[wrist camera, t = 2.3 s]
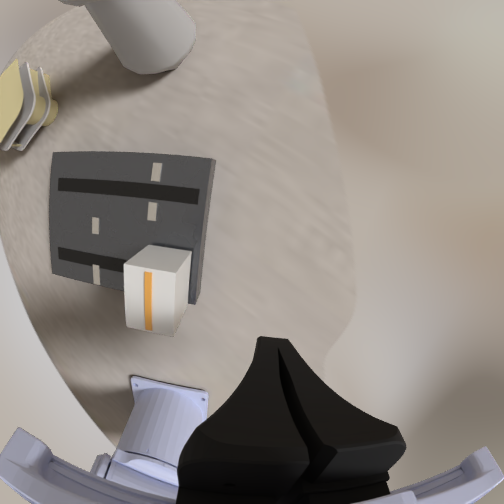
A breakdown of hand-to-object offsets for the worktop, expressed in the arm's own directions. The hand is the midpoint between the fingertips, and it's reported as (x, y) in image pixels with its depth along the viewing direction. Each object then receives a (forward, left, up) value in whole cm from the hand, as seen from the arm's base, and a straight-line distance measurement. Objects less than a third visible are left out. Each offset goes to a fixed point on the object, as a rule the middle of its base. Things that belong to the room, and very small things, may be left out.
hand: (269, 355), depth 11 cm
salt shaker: (+16, +10, -10) cm, 22 cm away
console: (+3, +11, -9) cm, 15 cm away
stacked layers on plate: (+12, +23, -10) cm, 27 cm away
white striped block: (0, +7, -7) cm, 10 cm away
